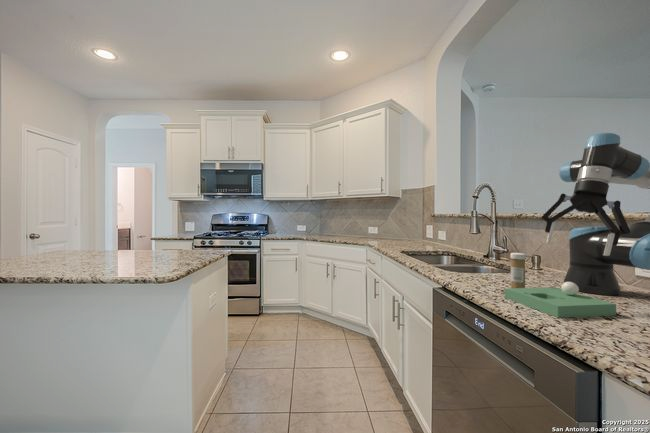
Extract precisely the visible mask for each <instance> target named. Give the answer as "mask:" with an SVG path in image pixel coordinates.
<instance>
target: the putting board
mask: <svg viewBox="0 0 650 433" xmlns="http://www.w3.org/2000/svg"><path fill="white" fill-rule="evenodd" d="M504 298H505V299H507V300H510V301H513V302H515V303H518V304H521V305H523V306H526V307H529V308H532V309H534V310H536V311H540V312H542V313H544V314H546V315H550V316H552V317H555V318H557V319H558V318H578V317H599V316H600V317H602V316H604V317H605V316H616V315H617V303H614V302H610V301H606V300H603V299H599V298H595V297H592V296H588V295H585V294H580V293H577V294H576V295H567V294H565V293H564V292H563V291H562V289H561V288H558V287H554V286H548V287H547V286H546V287H525V288H511V287H509V288H504Z"/></svg>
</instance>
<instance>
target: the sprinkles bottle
mask: <svg viewBox="0 0 650 433" xmlns="http://www.w3.org/2000/svg"><path fill="white" fill-rule="evenodd" d="M526 255H527V254H526V253H522V252H511V253H510V255H509V256H510V257H509V258H510V288H526V259H527V256H526Z"/></svg>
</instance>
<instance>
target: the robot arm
mask: <svg viewBox="0 0 650 433" xmlns="http://www.w3.org/2000/svg"><path fill="white" fill-rule="evenodd" d="M620 144H621V136H620V135H619V134H617V133H614V132H599V133H596V134H592V135H591V136H589V137H588V138H587V141H586V143H585V145H584V148H583V154H582V159H581V160H580V159H579V160H572V161H568V162H566V163H563V164H562V165H561V166H560V167H559V170H558V171H559V172H558V176H559V178H560V180H562V181H563V182H565V183H575V185H574V190H573V194H572V195H567V194H566V193H561V194H560V195H559V197H558V199H557V201H556V202H555V203H554V204H553V205H552V206H551V207H550V208H549V209H547V211H546V212H545V213H544V214H543V215H542V216H541V217H540V220H541V221H543V222H545V223H546V224H545V229H544V232H545V233H546V234H547V237H546V244H548V245H550V244H551V241H552V238H553V234H554V229H555V226H556V223H555V221H557V220H558V219H560V218H562V217H564V216H565V215H567V214H569V213H571V212H573V211H574V210H576V211H577V212H580V213H583V212H584V213H587V214H595V215H596V216H597V217H598V218H599V219H600V220H601V221H602V223H603V224H604V225H602V226H585V227H584V226H583V227H576V228H573V229H571V230H570V233H569V239H568V241H569V266H568V270H567V271H566V274H565V277H564V279H563V283H565V282H573V283H575V284H576V285H577V286H578V288H579V292H580V293H581V292H582V293H585V294H586V293H588V294H594V295H606V296H617V295H620V294H621V293H622V292H621V286H620V284H619V280H618V279H617V276H616V275H615V274H616V273H615V271H614V265H617V266H621V267H622V266H623V267H629V268H637V269H639V270H640V269H641V270H647V271H650V215H648V216H647V217H646V218H645V219H644V220H640V221H636V222H634V223H632V224H631V225H630V226H628V223H627V221H626V218H625V216H624V214H623V212H622V209H621V201H620V200H615V201H614V200H613V201H609V200H607V196H608V193H609V188H610V184H616V185H629V186H636V187H637V188H640V189H647V190H650V161H649V160H648V159H647V158H646V157H643V156H642V155H641V154H638V153H636V152H633V151H631V150H628V149H626V148H624V147H622V146H620ZM567 201H569V202H570V204H571V205H569V207H567V208H565V209H563V210H561V211H560V212H558V213H557V214H555V215H553V216H552V217H549V216H551V215H552V213H553V212H554V211H555V210H557V208H558V207H559V206H561V205H562V203H565V202H567ZM606 206H608V209H611V213H612V215H613V217H614V220H615V222H616V224H615V222H614V221H613V220H612V218H610V217H609V215H608V214H607V212H606V211H605V209H604V208H605V207H606ZM603 207H604V208H603ZM563 283H562V284H563Z"/></svg>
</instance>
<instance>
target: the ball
mask: <svg viewBox="0 0 650 433" xmlns="http://www.w3.org/2000/svg"><path fill="white" fill-rule="evenodd" d="M560 289H562V291H563V292H564V293H565V294H567V295H576V294H579V292H580V291H579V288H578V286H577V285H576V284H575V283H573V282H565V283H562V284H561V287H560Z"/></svg>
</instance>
